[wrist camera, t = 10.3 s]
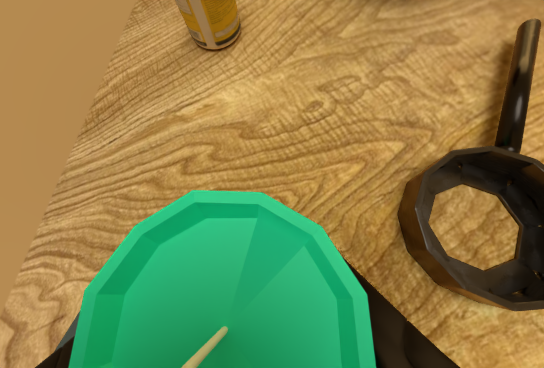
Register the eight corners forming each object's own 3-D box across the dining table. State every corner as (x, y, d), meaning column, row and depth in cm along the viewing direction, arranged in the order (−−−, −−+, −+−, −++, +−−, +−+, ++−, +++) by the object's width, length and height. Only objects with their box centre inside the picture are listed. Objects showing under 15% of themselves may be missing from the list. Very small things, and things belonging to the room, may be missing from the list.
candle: (215, 248, 15) (-13, 212, 4) (300, 224, 15) (329, 120, 4) (232, 350, 13) (-139, 924, 2) (330, 323, 13) (574, 715, 2)
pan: (543, 330, 17) (594, 345, 14) (383, 260, 19) (399, 260, 16) (572, 56, 24) (610, 29, 21) (453, 29, 26) (472, 2, 24)
